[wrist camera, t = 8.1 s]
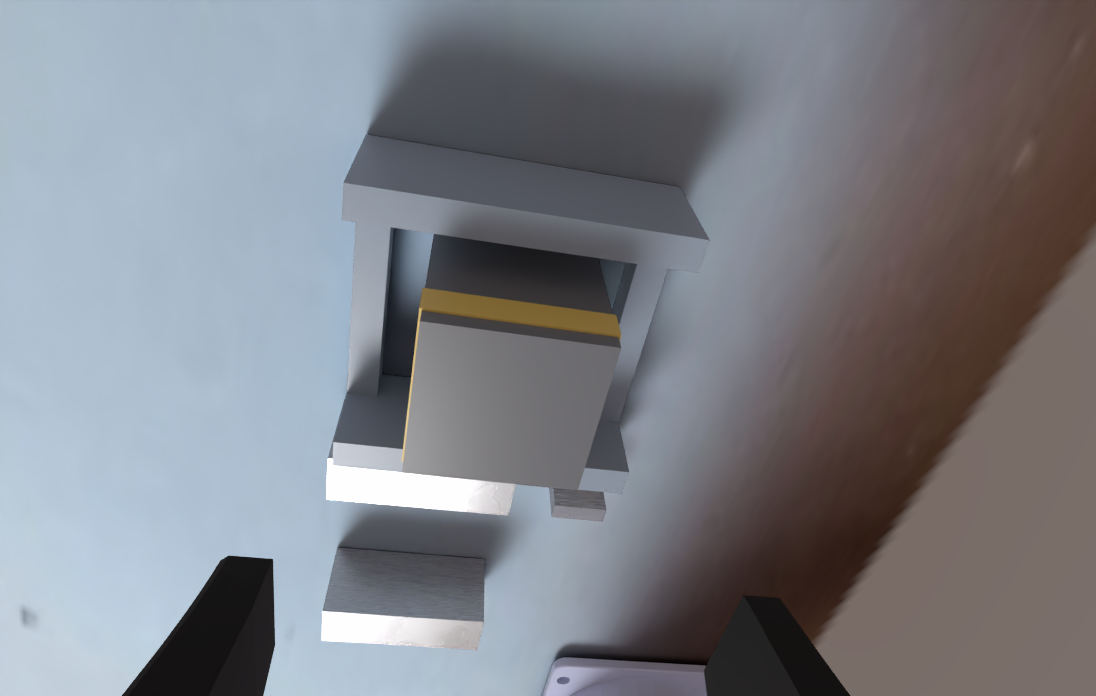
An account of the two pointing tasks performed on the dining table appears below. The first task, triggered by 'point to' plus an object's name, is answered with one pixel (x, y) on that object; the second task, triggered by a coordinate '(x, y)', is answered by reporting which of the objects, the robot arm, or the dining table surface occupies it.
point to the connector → (509, 364)
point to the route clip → (577, 504)
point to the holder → (513, 219)
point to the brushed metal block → (408, 566)
